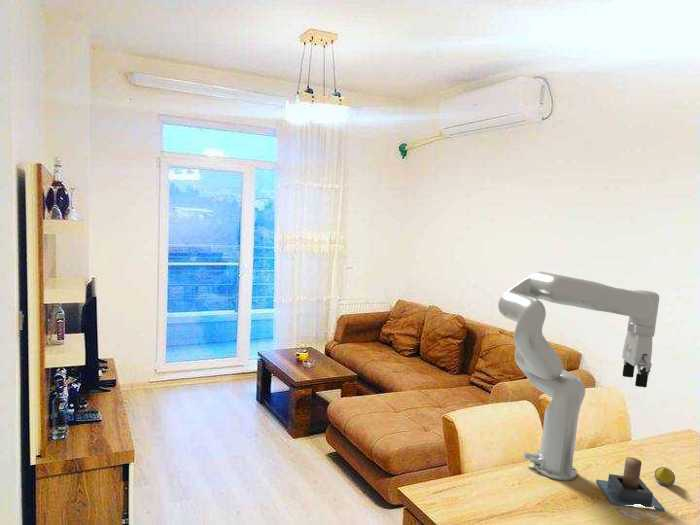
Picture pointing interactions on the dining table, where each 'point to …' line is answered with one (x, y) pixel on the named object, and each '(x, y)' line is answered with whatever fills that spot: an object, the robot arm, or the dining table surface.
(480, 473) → the dining table surface
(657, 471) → the yellow grooved cone part
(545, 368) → the robot arm
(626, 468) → the walnut rod
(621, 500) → the grey square peg hole
